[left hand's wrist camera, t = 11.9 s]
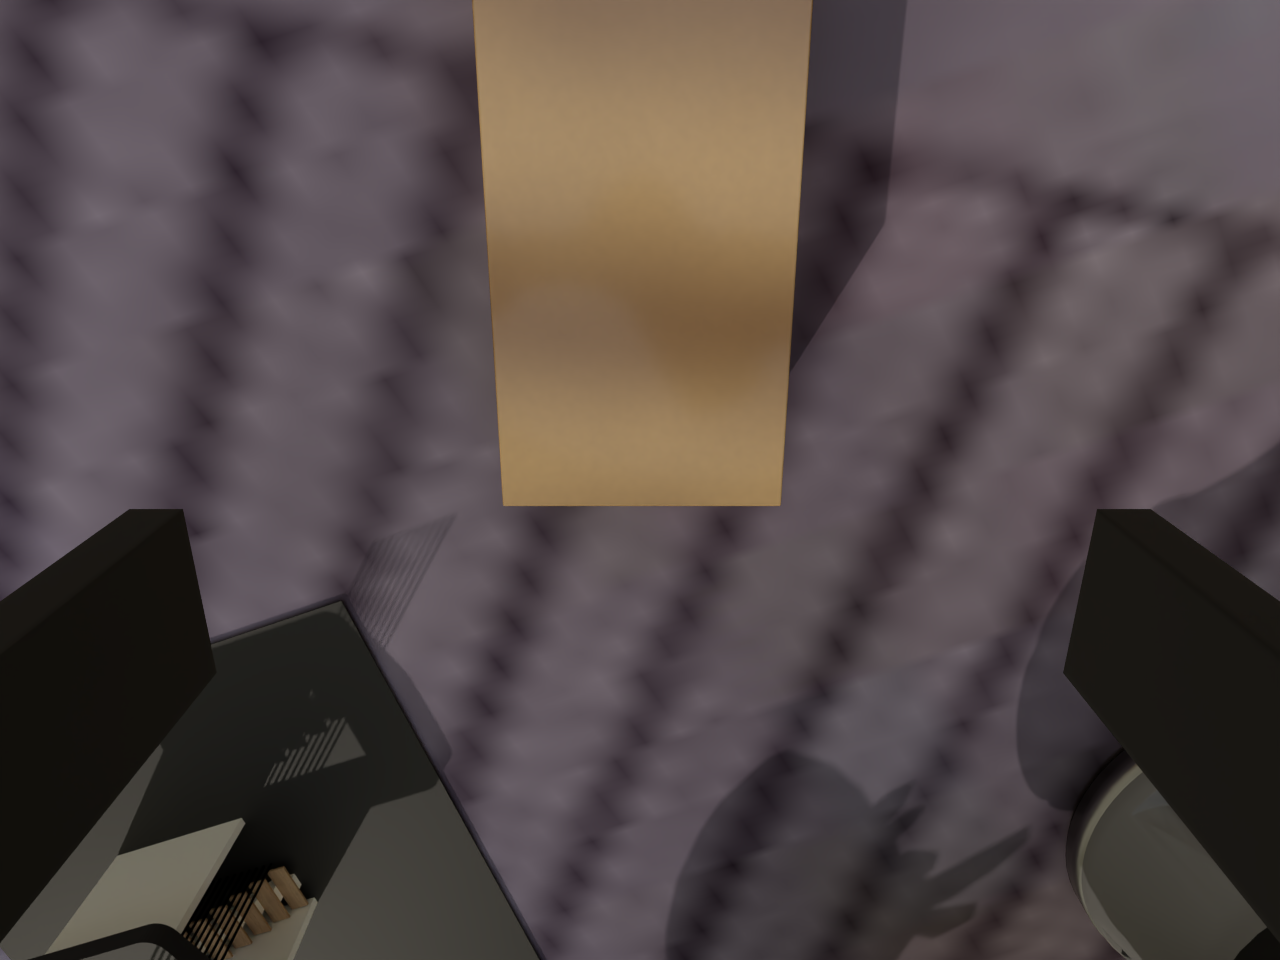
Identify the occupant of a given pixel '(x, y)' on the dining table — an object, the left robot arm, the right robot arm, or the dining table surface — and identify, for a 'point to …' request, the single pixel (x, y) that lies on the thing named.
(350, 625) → the black grey boxy device
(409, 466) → the dining table surface
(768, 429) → the wide beam
